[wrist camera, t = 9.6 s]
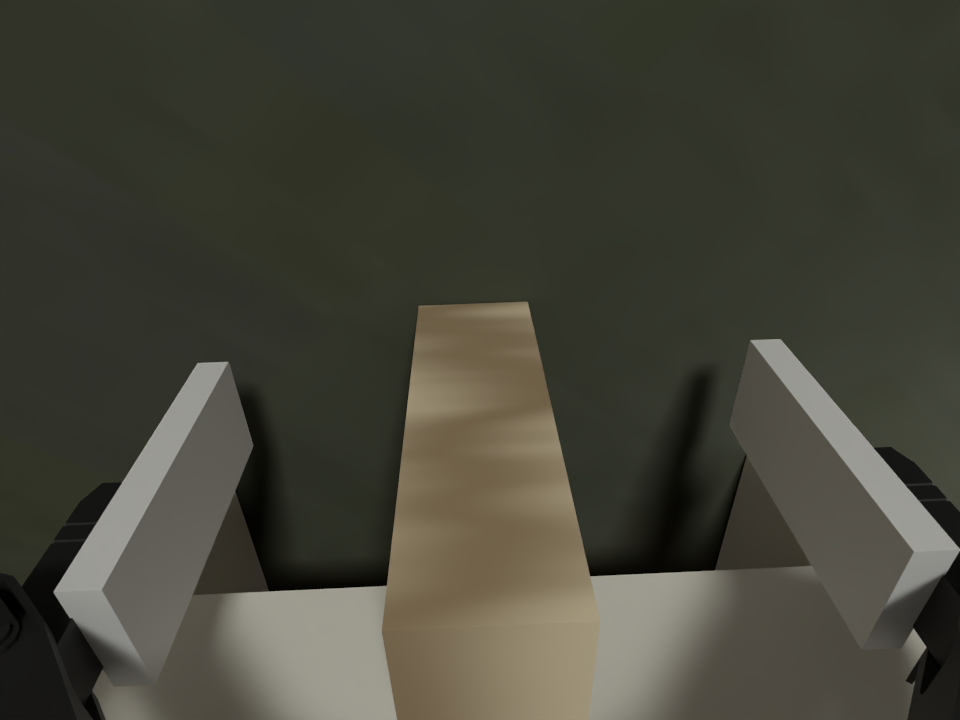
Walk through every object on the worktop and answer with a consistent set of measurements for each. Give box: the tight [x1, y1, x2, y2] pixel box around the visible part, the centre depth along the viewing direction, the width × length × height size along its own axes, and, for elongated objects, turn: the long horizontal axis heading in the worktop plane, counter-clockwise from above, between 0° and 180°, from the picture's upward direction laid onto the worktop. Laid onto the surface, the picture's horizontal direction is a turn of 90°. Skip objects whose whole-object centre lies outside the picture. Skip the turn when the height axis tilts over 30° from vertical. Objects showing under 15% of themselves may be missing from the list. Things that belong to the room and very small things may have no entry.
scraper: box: [382, 302, 600, 720], centre depth 17 cm, size 8×18×10 cm, turn 1°
